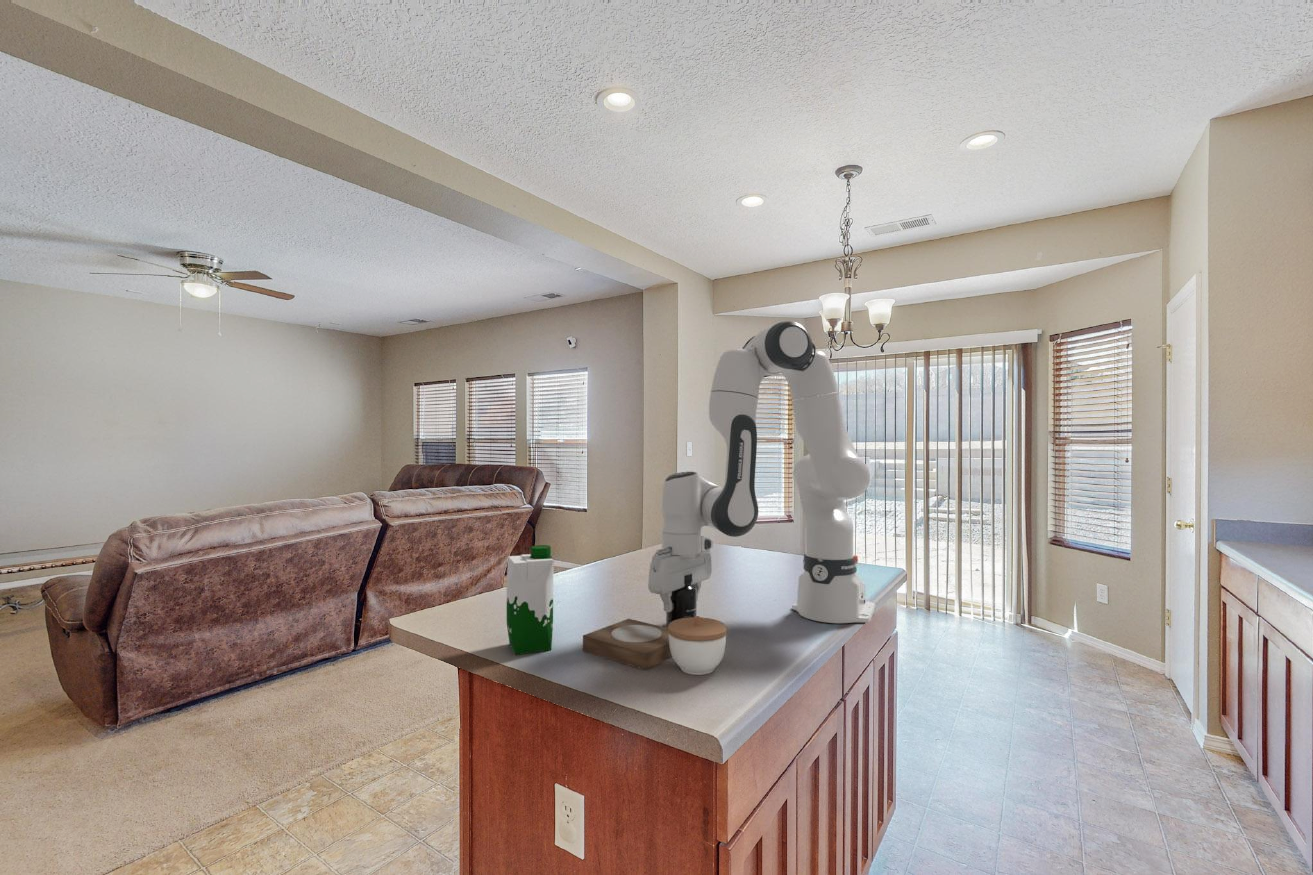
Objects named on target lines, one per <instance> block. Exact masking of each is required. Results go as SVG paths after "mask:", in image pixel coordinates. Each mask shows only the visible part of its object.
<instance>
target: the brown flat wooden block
mask: <svg viewBox="0 0 1313 875" xmlns="http://www.w3.org/2000/svg"><path fill="white" fill-rule="evenodd" d="M582 651H583V652H585V653H590V654H593V655H594V656H598V657H602V658H605V659H608V660H612V661H615V662H617V663H618V662H619V663H622V664H625V665H628V666H631V667H635V668H637V669H641V670H644V671H647V670H649V669H651V668H653V667H655V666H657V665H660V664H661V663H663V662H666V661H667V660H669V659H671V658H673V657H672V655H671V651H670V647H669V633H668V627H667V626H666V627H665V626H661V625H657V624H653V623H648V622H644V621H640V620H637V619H632V618H627V619H624V620H621V621H618V622H616V623H614V624H610V625H607V626H605V627H603V628H599V629H596V630H593V631H591V632H588V633H587V634H586V633H585V634H584V635H582Z"/></svg>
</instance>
